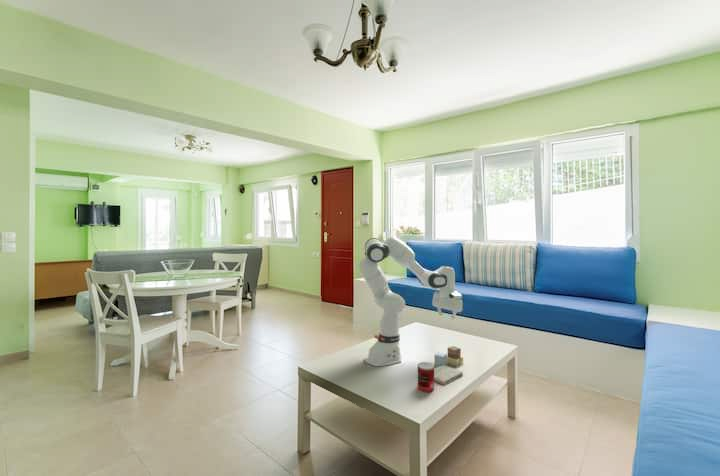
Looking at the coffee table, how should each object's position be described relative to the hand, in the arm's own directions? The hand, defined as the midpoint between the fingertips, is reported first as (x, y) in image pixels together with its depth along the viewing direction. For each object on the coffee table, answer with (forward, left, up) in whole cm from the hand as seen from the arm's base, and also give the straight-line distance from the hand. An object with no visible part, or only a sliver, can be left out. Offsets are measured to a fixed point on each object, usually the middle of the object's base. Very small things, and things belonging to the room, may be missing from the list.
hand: (446, 316), depth 189 cm
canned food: (-39, -20, -24) cm, 50 cm away
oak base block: (-4, -9, -25) cm, 26 cm away
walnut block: (-4, -8, -21) cm, 23 cm away
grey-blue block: (-12, -6, -24) cm, 28 cm away
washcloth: (-21, -16, -25) cm, 37 cm away
